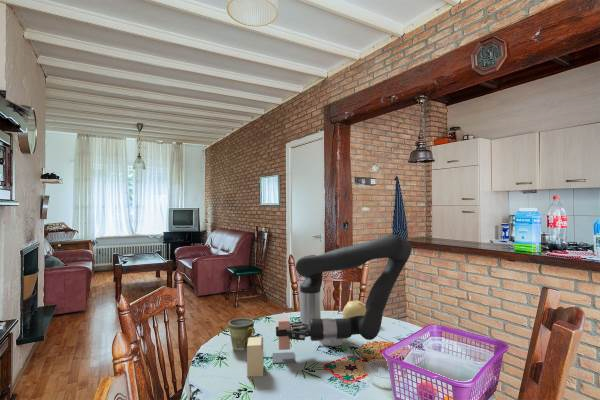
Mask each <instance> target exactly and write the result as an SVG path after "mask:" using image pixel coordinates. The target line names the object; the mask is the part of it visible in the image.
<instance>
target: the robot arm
mask: <svg viewBox="0 0 600 400" xmlns="http://www.w3.org/2000/svg"><path fill="white" fill-rule="evenodd" d="M411 254H412V246H411V244H410V242H409V241H408V240H407V239H405V238H403V237H401V236H400V235H398V234H394V233H391V234H387V235H384V236H382V237H379V238H375V239H373V240H370V241H366V242H361V243H355V244H351V245H347V246H343V247H339V248H336V249H333V250H330V251H327V252H325V253H322V254H318V255H316V254H309V255H305V256H302V257H300V258H299V259H298V260H297V261H296V264H295V271H296V272H297V274H298V275H299V276H301V277H303V278H304V280H303V281H302V282H301V284H300V286H299V300H300V301H299V303H300V304H299V307H300V308H299V312H300V314H299V321H295V322H290V329H287V331H286V329H285V330H279V325H277V326H276V327H275V336H276V337H278V338H279V337H281V336H287V337H289V339H290V340H296V341H297V340H298V341H306V338H308V337H309V339H310V341H312V342H316V341H320V342H321V341H322V340H333V339H344V340H345V339H350V338H351V336H354V335H355V336H356V335H360V336H361V338H363V339H365V340H367V341H373V340H374V339H375V338H377V336H378V334H379V333H380V330H381V327H382V322H383V321H382V320H383V316H384V315H383V313H384V311H385V309H386V306H387V303H388V300H389V298H390V295H391V293H392V291H393V288H394V286H395V284H396V282H397V280H398V278H399V276H400V275H401V272H402V270H403V269H404V267H405V265H406V264H407V262H408V260H409V258H410V256H411ZM377 259H388V260H387V262H386V266H385V268H384V269H383V272H382V273H381V274H380V275H379V277H378V278H377V279H376V281H375V282H373V285H372V287H371V288H370V291H369V293H368V296H367V299H366V300H365V301H366V302H365V307H366V313H365V316H364V315H361V316H354V317H350V318H343V317H342V318H328V317H327V318H322V316H321V313H322V312H321V309H322V308H321V305H322V304H321V302H322V301H321V287H322V284H323V273H324V272H325V273H326V272H338V271H343V270H345V271H346V270H347V271H348V270H351V269H355V268H359V267H361V266H363V265H365V264H367V263H368V262H369V261H372V260H377Z"/></svg>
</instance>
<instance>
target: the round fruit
mask: <svg viewBox="0 0 600 400" xmlns="http://www.w3.org/2000/svg"><path fill="white" fill-rule="evenodd" d="M365 305H366V303H363V302H362V301H361V300H349V301H347V302H346V305H344V308H343V310H342V318H350V317H354V316H361V315H364V316H365V313H366V307H365Z"/></svg>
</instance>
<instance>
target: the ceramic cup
mask: <svg viewBox="0 0 600 400" xmlns="http://www.w3.org/2000/svg"><path fill="white" fill-rule="evenodd" d="M254 327H255V319H252V318H249V317H238V318H233V319H230V320H229V321H228V329H229V330H228V331H229V334H230V340H231V341H230V342H231V346H232V349H233V350H234V349H235V351H237V350H244V351H247V350H246V349H247V344H248V338H252V337H254V335H255V333H256V330H255V328H254Z"/></svg>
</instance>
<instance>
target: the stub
mask: <svg viewBox="0 0 600 400" xmlns="http://www.w3.org/2000/svg"><path fill="white" fill-rule="evenodd" d="M277 321H278V325H277V326H279V330H285V329H286V331H287V329H290V323H291V322H290V321H291V320H290V318H278V320H277ZM278 350H279V351H280V350H281V351H285V350H286V351H287V350H291V339H289V337H287V336H281V337H278Z"/></svg>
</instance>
